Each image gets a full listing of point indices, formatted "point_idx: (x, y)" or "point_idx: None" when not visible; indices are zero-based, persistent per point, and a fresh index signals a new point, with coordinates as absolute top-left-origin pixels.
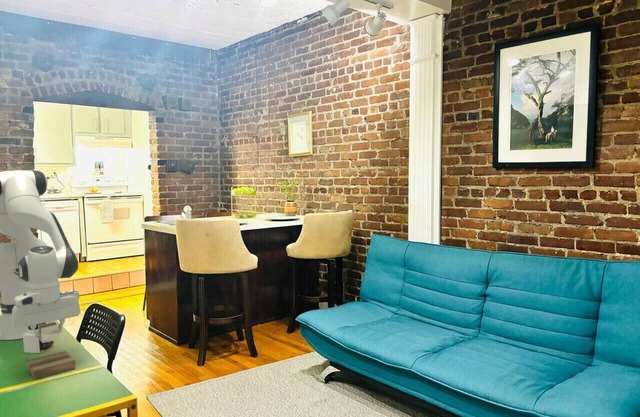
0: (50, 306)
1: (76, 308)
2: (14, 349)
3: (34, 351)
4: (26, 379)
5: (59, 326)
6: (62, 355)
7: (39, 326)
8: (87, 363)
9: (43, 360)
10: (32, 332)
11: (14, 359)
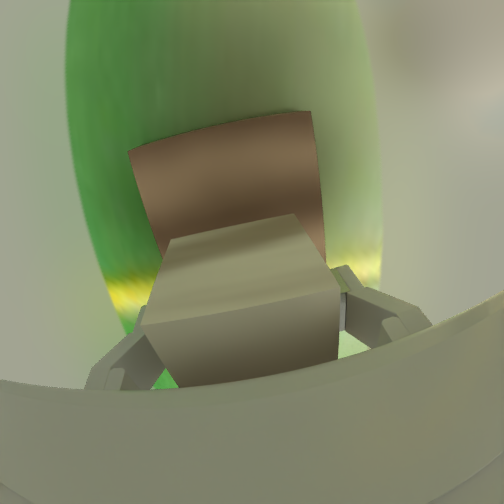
0: None
1: None
2: None
3: None
4: (153, 257)
5: (350, 322)
6: (291, 172)
7: (172, 375)
8: (361, 219)
9: (203, 192)
10: None
11: (94, 9)
